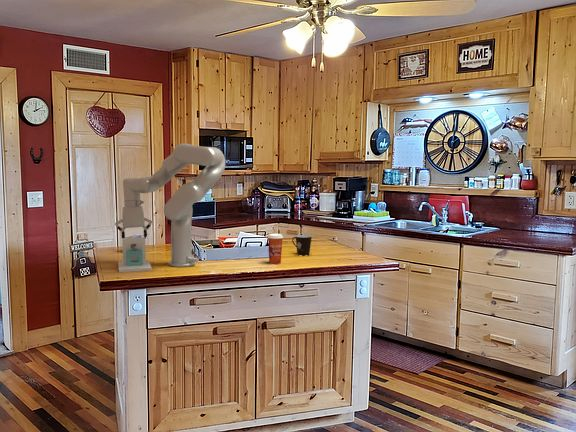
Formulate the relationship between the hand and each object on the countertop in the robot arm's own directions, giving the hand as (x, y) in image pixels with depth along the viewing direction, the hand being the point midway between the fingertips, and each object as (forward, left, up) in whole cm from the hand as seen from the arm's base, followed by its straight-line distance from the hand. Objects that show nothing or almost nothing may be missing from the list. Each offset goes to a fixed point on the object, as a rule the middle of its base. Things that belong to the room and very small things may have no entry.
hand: (134, 239), depth 254 cm
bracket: (-5, +9, -11) cm, 15 cm away
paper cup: (-64, -22, -12) cm, 69 cm away
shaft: (-3, +6, -4) cm, 8 cm away
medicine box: (+15, -23, -12) cm, 30 cm away
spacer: (-7, +11, -10) cm, 16 cm away
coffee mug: (-71, -48, -12) cm, 87 cm away
